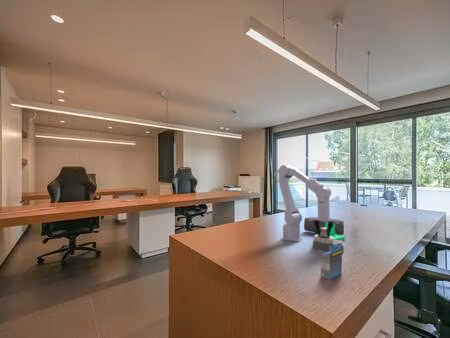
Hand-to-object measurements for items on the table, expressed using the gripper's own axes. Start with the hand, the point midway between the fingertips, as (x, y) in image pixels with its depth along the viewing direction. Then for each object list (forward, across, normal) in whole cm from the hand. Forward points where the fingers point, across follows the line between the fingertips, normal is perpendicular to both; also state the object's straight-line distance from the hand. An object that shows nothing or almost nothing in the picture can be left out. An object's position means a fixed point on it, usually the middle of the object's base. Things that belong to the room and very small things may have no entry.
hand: (323, 235), depth 118 cm
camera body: (+6, +2, 0) cm, 6 cm away
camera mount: (+6, +4, +16) cm, 18 cm away
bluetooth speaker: (+6, -2, +28) cm, 28 cm away
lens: (+2, 0, -1) cm, 2 cm away
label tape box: (+6, +5, -34) cm, 35 cm away
